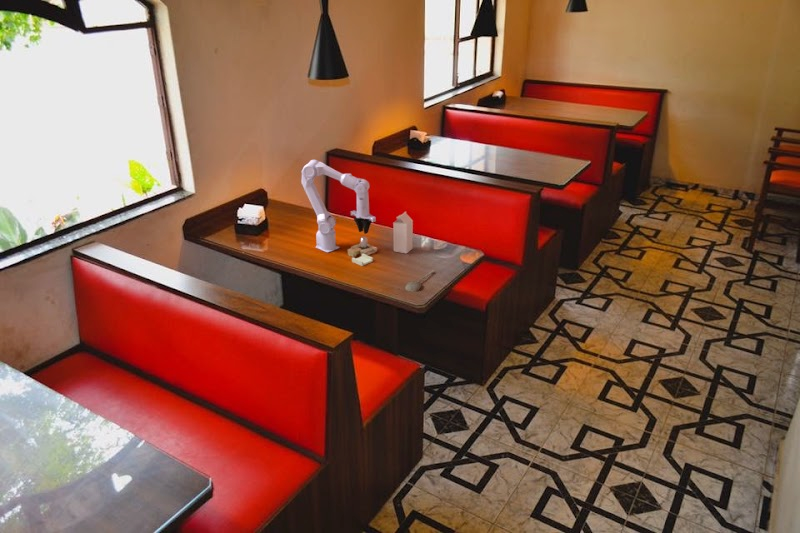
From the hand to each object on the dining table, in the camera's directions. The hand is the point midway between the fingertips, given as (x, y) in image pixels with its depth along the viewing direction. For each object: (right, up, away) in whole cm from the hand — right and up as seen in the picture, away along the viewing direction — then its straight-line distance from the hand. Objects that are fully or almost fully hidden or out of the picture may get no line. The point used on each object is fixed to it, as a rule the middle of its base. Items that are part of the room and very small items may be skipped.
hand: (363, 232), depth 303 cm
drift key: (-4, -11, +1) cm, 11 cm away
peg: (0, -9, +4) cm, 10 cm away
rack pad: (0, -14, -7) cm, 16 cm away
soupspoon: (+27, -24, -26) cm, 44 cm away
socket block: (0, -9, +4) cm, 10 cm away
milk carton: (+19, -9, +5) cm, 22 cm away
